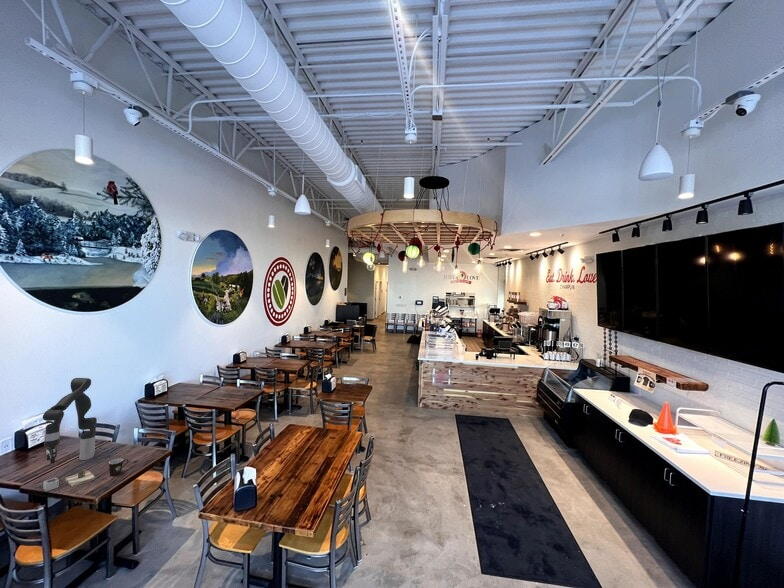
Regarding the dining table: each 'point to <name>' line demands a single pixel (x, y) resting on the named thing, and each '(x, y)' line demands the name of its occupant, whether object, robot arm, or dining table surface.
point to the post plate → (80, 478)
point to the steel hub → (50, 484)
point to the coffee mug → (116, 466)
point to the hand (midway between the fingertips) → (50, 461)
